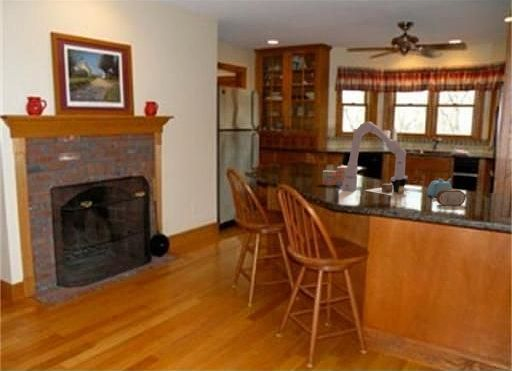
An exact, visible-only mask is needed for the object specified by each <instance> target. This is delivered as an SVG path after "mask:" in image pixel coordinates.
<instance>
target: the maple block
mask: <svg viewBox="0 0 512 371" xmlns="http://www.w3.org/2000/svg"><path fill="white" fill-rule="evenodd" d="M392 190H393V193H394V194H399V195H398V196H401V195H400V194H403V195H405V194H404V192H405V186H399V190H398V193H396V192H394V188H393V189H392Z"/></svg>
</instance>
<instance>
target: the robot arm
mask: <svg viewBox="0 0 512 371" xmlns="http://www.w3.org/2000/svg"><path fill="white" fill-rule="evenodd" d="M368 133H370V134H373V135H376V136H378V137H379V138H380V140H382V141H383V143H385V147H386V148H387V149H388V150H389V151H390V152H391V154H394V156H395V161H394V162H395V164H394V176H392V177H390V182H391V183H390V184H392V185H393V188H394V192H396V193H398V190H399V186H404V187H405V186H406V184H407V182H408V179H409V178H408V175H406V174H405V173H406V160H407V159H406V156H407V151H406V149H404V148H403V146H401V145H399V144H398V143H397V140H394V139H390V137H388V135H386V134H385V132H383V131H382V129H381V128H379V126H377V125H376V124H374V122H372V121H365V122H363V123H361V124H360V125H359V126H358V127H357V129H356V130H354V132H353V136H352V143H351V148H350V153H349V154H350V155H349V160H348V162H347V166H346V167H347V168H346V169H345V174H346V175H345V179H344V180H343V186H342V192H352V193H354V192H356V191H358V190H359V188H358V187H357V186H358V185H357V184H358V174H357V173H358V171H359V168H358V158H359V154H360V153H359V152H360V147H361V141H362V137H363V136H364V135H366V134H368ZM357 188H358V189H357ZM359 191H360V190H359Z"/></svg>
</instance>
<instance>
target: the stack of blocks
mask: <svg viewBox="0 0 512 371" xmlns="http://www.w3.org/2000/svg"><path fill="white" fill-rule="evenodd" d="M346 168H347V166H336V170H328V169H327V170H326V169H323V171H322V180H321V181H322V182H321V183H322V184H321V185H322V186H332V185H337V187H343V180H344V179H345V175H346V174H345V169H346Z"/></svg>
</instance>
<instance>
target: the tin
mask: <svg viewBox="0 0 512 371" xmlns="http://www.w3.org/2000/svg"><path fill="white" fill-rule="evenodd" d="M435 198H436V202H437V203H438V204H439V205H442V206H453V207H455V206H462V205H463V204H464V203H465V201H466V198H467V197H466V194H465V192H463V191H462V190H460V189H452V190H441V191H439V192H438V194H437V196H436V197H435Z"/></svg>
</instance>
